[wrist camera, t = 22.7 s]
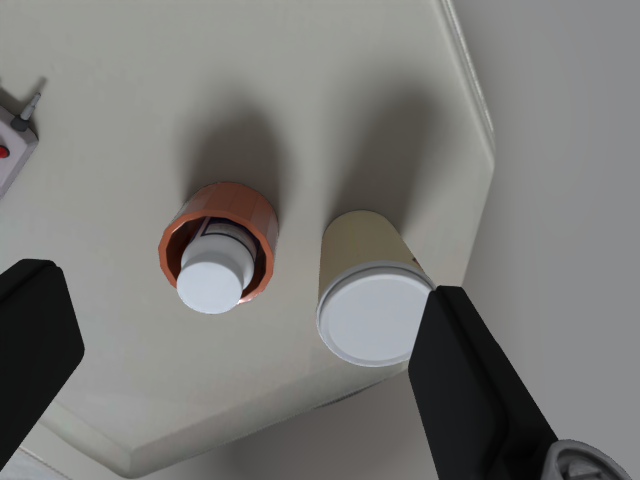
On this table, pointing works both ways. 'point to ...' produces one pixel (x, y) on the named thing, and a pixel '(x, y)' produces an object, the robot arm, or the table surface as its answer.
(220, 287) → the pill bottle
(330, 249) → the coffee cup
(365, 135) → the table surface
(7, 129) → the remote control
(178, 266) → the pen cup
